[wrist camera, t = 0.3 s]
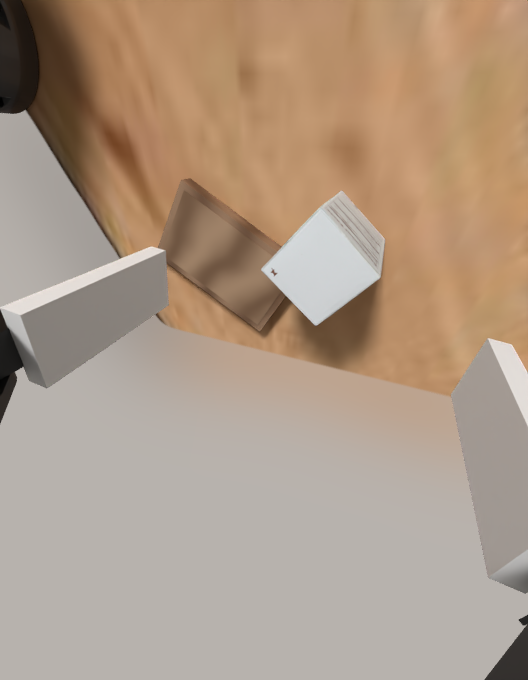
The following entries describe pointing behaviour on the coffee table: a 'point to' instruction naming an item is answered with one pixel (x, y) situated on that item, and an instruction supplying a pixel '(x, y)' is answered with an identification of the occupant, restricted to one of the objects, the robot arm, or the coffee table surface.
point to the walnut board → (221, 253)
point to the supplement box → (328, 259)
